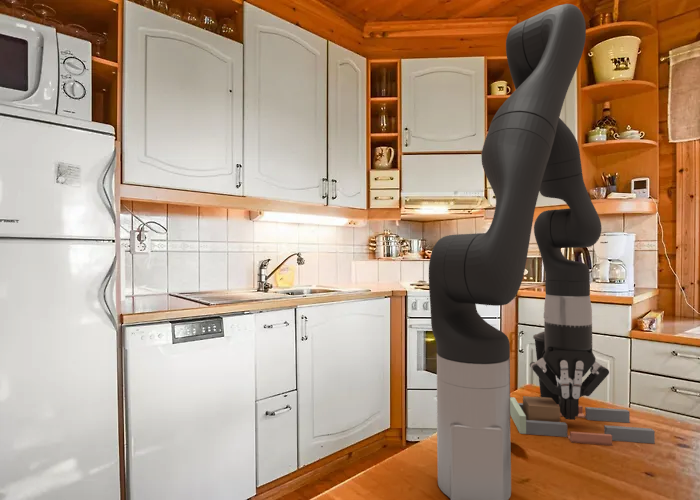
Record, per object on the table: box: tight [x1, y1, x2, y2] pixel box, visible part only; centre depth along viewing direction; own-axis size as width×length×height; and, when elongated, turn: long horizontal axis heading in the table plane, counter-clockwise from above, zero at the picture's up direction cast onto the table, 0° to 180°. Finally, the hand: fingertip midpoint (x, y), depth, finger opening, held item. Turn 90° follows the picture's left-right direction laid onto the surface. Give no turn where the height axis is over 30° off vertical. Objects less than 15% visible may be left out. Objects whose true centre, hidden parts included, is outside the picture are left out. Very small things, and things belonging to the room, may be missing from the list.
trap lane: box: [518, 402, 656, 446], centre depth 72 cm, size 13×20×2 cm
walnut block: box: [522, 395, 561, 422], centre depth 74 cm, size 5×5×4 cm
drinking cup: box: [532, 331, 559, 404], centre depth 84 cm, size 8×8×20 cm
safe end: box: [510, 396, 527, 435], centre depth 74 cm, size 9×1×3 cm, turn 169°
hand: (568, 417), depth 73 cm, fingers closed
